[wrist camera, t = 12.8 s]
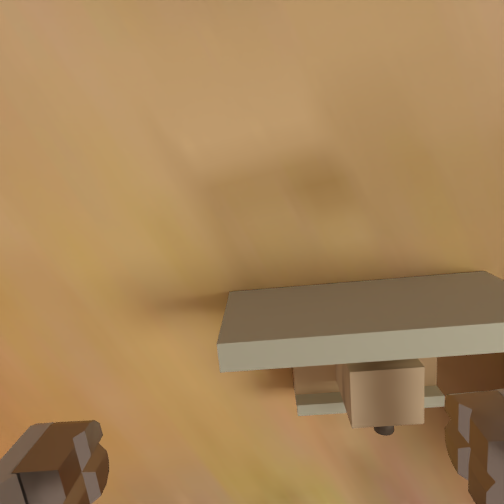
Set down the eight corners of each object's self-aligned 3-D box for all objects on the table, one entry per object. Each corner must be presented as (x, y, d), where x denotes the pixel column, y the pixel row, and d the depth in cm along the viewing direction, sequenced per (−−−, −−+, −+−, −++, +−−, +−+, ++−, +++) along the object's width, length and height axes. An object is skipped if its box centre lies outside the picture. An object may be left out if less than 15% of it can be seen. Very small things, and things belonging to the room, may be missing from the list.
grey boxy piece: (484, 271, 33) (577, 316, 23) (480, 375, 35) (562, 457, 26) (229, 291, 34) (216, 343, 24) (241, 392, 36) (233, 476, 27)
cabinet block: (394, 329, 32) (424, 367, 26) (395, 387, 33) (423, 436, 27) (334, 333, 32) (349, 372, 26) (336, 391, 33) (352, 440, 28)
